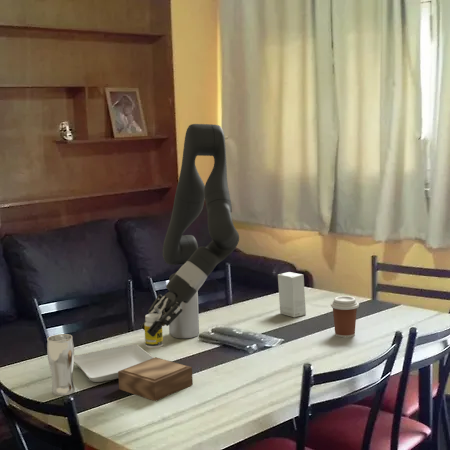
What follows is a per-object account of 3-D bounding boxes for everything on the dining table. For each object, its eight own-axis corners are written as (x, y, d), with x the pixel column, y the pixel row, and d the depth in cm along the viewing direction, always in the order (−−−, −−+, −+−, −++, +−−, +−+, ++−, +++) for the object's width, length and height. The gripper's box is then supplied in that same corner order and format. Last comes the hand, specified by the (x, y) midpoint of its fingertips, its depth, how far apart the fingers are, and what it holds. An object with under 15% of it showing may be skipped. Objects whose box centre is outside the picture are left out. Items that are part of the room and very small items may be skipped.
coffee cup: (327, 337, 237) (327, 301, 235) (334, 329, 245) (334, 294, 243) (355, 339, 233) (355, 303, 232) (361, 331, 242) (361, 296, 240)
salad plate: (90, 389, 200) (90, 377, 199) (69, 366, 218) (68, 355, 218) (163, 374, 209) (162, 362, 209) (136, 353, 228) (135, 343, 227)
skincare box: (306, 315, 263) (305, 274, 261) (293, 318, 260) (292, 277, 257) (291, 310, 270) (290, 270, 268) (278, 313, 267) (277, 273, 264)
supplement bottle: (160, 348, 194) (158, 317, 193) (143, 348, 195) (141, 317, 194) (165, 343, 199) (163, 312, 197) (148, 342, 200) (146, 312, 198)
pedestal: (119, 389, 198) (118, 370, 197) (156, 374, 208) (155, 356, 207) (155, 401, 189) (154, 381, 188) (192, 384, 199) (191, 366, 198)
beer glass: (52, 387, 200) (48, 334, 198) (78, 386, 201) (74, 333, 199) (48, 397, 194) (44, 342, 191) (75, 395, 194) (71, 340, 192)
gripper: (168, 268, 203) (128, 317, 200) (187, 278, 190) (145, 330, 187) (186, 285, 206) (148, 333, 203) (206, 295, 193) (165, 347, 190)
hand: (146, 331), depth 195 cm, fingers closed on supplement bottle, 4 cm apart
